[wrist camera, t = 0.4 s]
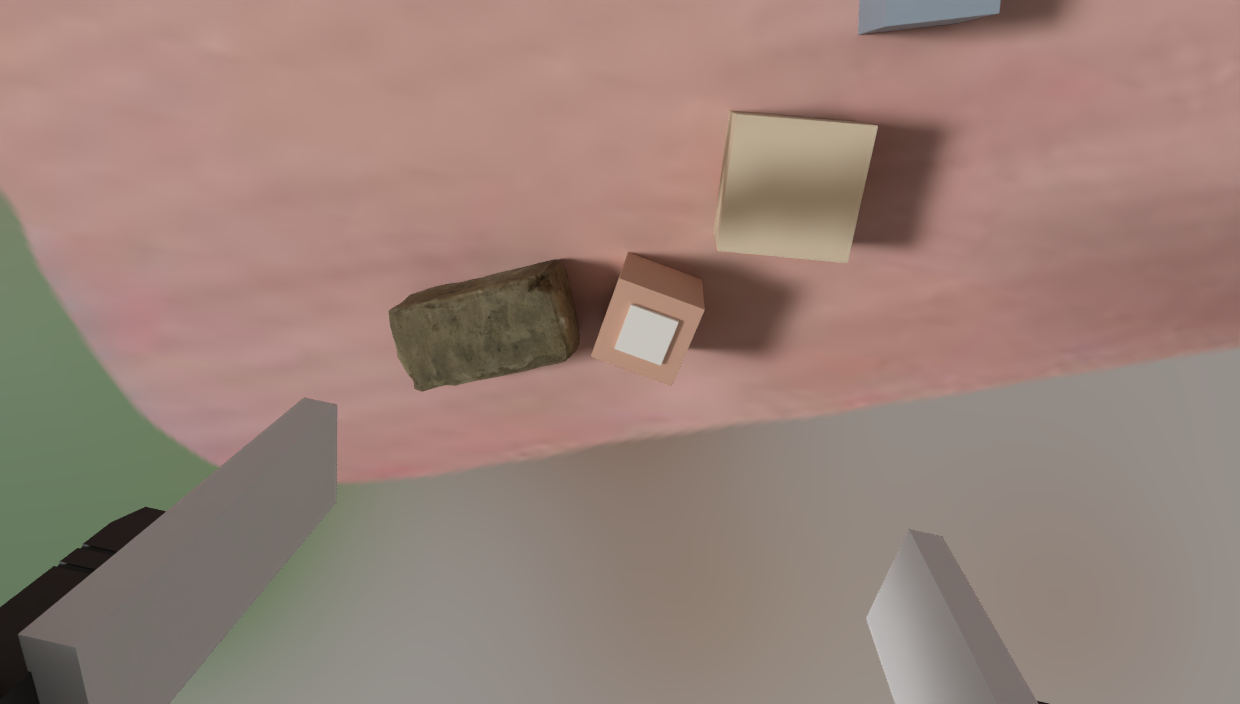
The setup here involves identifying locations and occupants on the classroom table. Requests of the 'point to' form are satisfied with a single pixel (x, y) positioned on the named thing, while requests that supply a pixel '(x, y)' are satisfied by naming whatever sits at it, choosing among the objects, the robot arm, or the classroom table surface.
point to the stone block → (486, 326)
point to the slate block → (920, 13)
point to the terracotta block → (650, 319)
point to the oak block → (792, 185)
